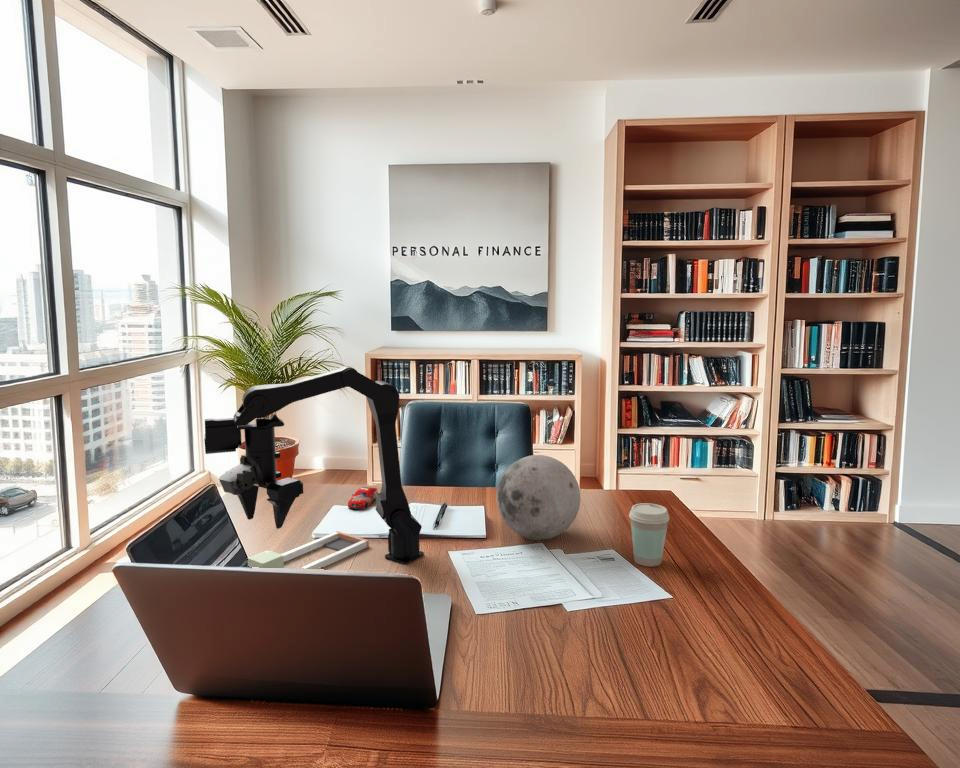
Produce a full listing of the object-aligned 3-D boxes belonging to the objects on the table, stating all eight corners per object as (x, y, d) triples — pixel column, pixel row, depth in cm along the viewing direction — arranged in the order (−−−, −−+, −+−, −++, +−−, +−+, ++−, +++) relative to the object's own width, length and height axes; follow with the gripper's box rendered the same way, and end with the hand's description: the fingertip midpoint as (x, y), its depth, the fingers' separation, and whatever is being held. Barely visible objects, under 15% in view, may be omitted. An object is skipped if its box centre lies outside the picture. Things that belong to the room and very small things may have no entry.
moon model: (577, 523, 164) (578, 447, 161) (582, 554, 144) (583, 468, 142) (499, 521, 166) (499, 445, 163) (493, 551, 146) (493, 466, 144)
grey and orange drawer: (368, 546, 150) (368, 540, 150) (350, 554, 145) (350, 548, 145) (337, 537, 156) (337, 531, 155) (319, 544, 151) (319, 538, 151)
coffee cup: (669, 570, 136) (671, 516, 134) (628, 567, 138) (629, 513, 136) (666, 554, 144) (668, 503, 142) (627, 552, 146) (628, 501, 144)
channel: (366, 547, 149) (366, 541, 149) (305, 575, 134) (305, 568, 134) (335, 538, 155) (335, 532, 155) (273, 564, 140) (273, 557, 140)
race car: (363, 512, 174) (363, 498, 174) (345, 511, 175) (344, 496, 175) (381, 496, 187) (380, 483, 186) (363, 495, 188) (363, 482, 188)
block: (284, 578, 134) (283, 555, 133) (263, 587, 129) (262, 563, 129) (269, 572, 136) (267, 549, 136) (248, 581, 132) (247, 557, 132)
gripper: (196, 450, 128) (201, 526, 130) (255, 464, 117) (260, 546, 119) (245, 440, 137) (249, 510, 139) (303, 452, 126) (307, 528, 128)
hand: (264, 523), depth 131 cm, fingers open, 9 cm apart
